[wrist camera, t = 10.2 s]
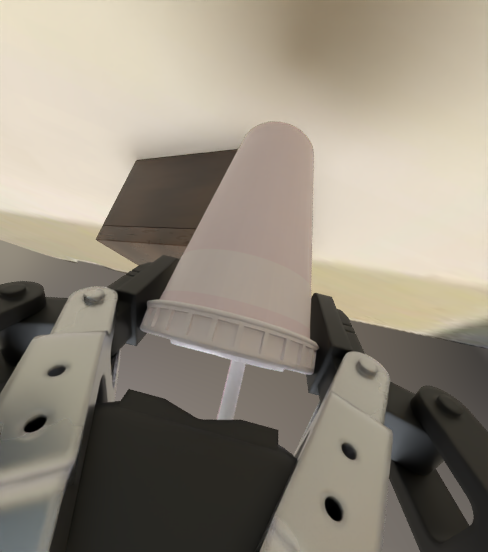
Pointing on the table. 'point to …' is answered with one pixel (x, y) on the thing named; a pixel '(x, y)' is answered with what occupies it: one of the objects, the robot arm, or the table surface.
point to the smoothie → (249, 265)
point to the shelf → (163, 205)
